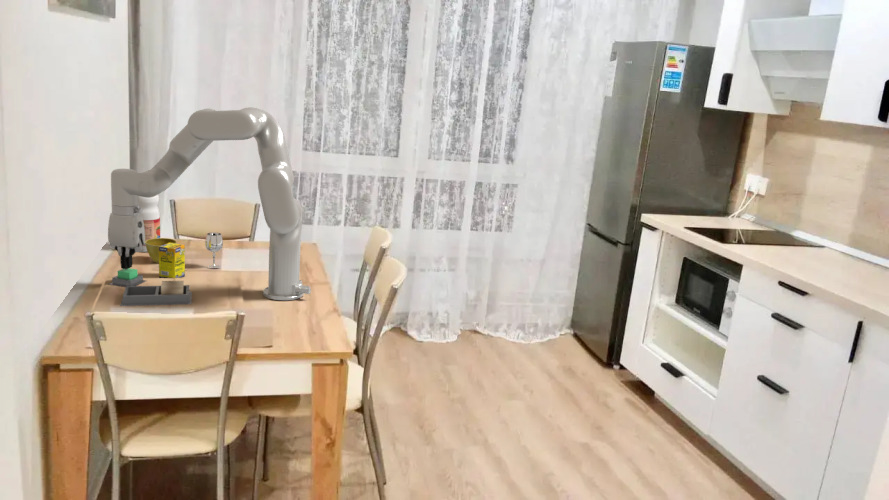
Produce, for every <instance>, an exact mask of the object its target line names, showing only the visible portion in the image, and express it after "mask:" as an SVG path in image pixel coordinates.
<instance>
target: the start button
mask: <svg viewBox="0 0 889 500" xmlns="http://www.w3.org/2000/svg"><path fill="white" fill-rule="evenodd" d="M137 274H138V269H137V268H132V267H131V268H128V269H122V268H120V269H119V270H117V276H118V278H124V279H132V278H134V277H137V276H138V275H137Z"/></svg>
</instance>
